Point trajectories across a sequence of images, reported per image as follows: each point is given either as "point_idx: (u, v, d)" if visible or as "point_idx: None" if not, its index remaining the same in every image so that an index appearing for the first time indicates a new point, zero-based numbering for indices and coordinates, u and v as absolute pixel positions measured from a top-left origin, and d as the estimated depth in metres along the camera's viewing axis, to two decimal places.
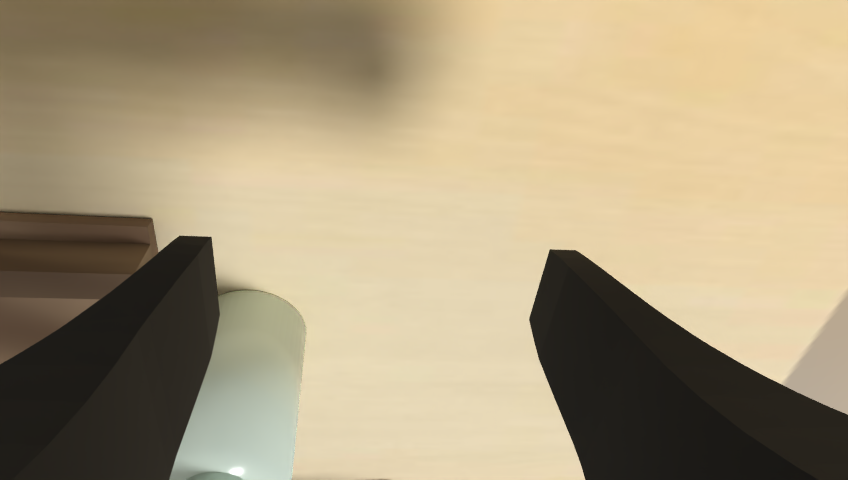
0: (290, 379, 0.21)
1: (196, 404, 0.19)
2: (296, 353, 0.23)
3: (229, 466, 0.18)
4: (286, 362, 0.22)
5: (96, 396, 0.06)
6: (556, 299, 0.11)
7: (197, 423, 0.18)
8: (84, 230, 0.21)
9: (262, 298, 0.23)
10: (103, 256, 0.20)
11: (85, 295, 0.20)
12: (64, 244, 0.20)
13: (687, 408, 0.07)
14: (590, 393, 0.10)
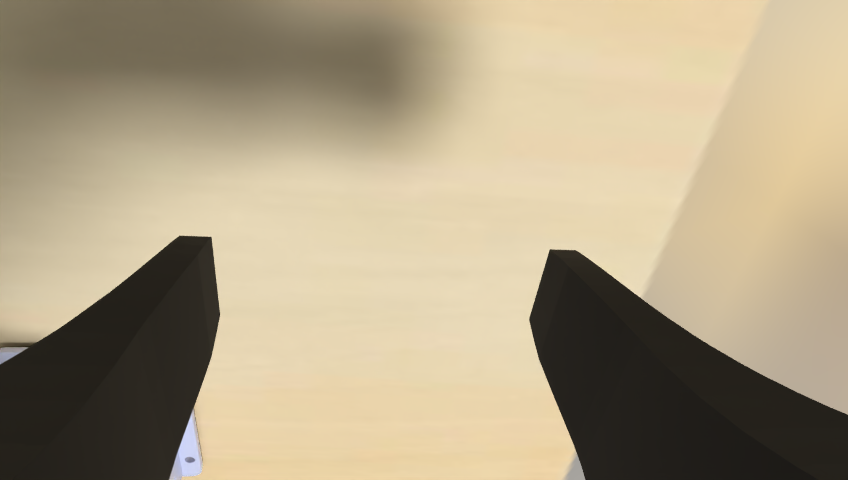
0: None
1: None
2: None
3: None
4: None
5: (96, 396, 0.06)
6: (556, 299, 0.11)
7: None
8: None
9: None
10: None
11: None
12: None
13: (686, 408, 0.07)
14: (590, 393, 0.10)
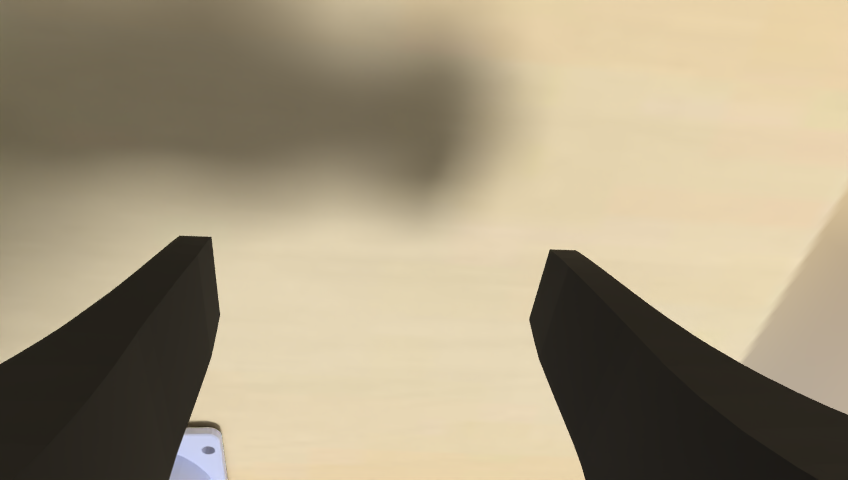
0: None
1: None
2: None
3: None
4: None
5: (96, 396, 0.06)
6: (556, 299, 0.11)
7: None
8: None
9: None
10: None
11: None
12: None
13: (686, 408, 0.07)
14: (590, 393, 0.10)
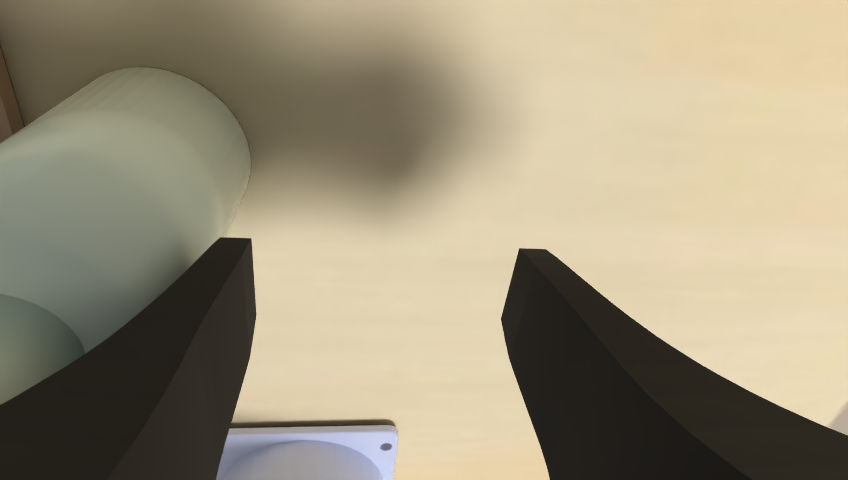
0: (195, 179, 0.12)
1: None
2: (218, 158, 0.13)
3: (14, 280, 0.08)
4: (191, 156, 0.12)
5: (166, 396, 0.06)
6: (524, 298, 0.11)
7: None
8: None
9: (167, 76, 0.14)
10: None
11: None
12: None
13: (639, 409, 0.07)
14: (555, 393, 0.10)
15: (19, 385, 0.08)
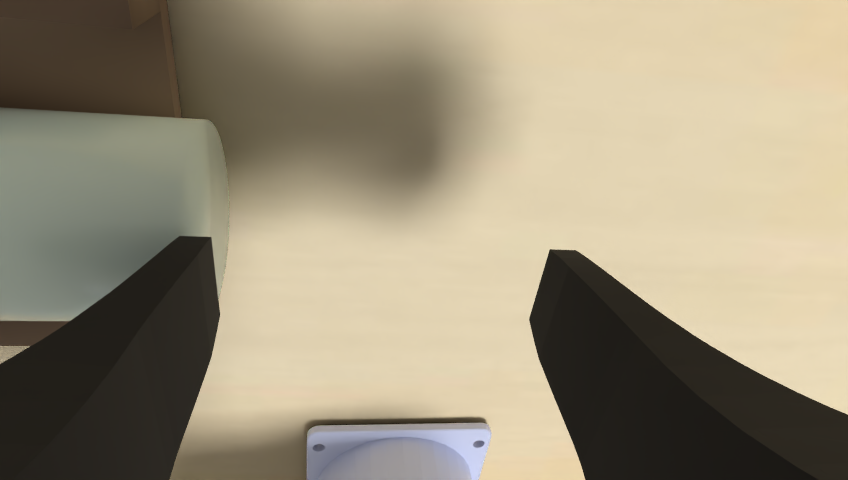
0: None
1: None
2: (50, 246, 0.11)
3: None
4: None
5: (96, 396, 0.06)
6: (556, 299, 0.11)
7: None
8: None
9: (162, 152, 0.11)
10: None
11: (35, 12, 0.11)
12: None
13: (686, 408, 0.07)
14: (590, 393, 0.10)
15: None
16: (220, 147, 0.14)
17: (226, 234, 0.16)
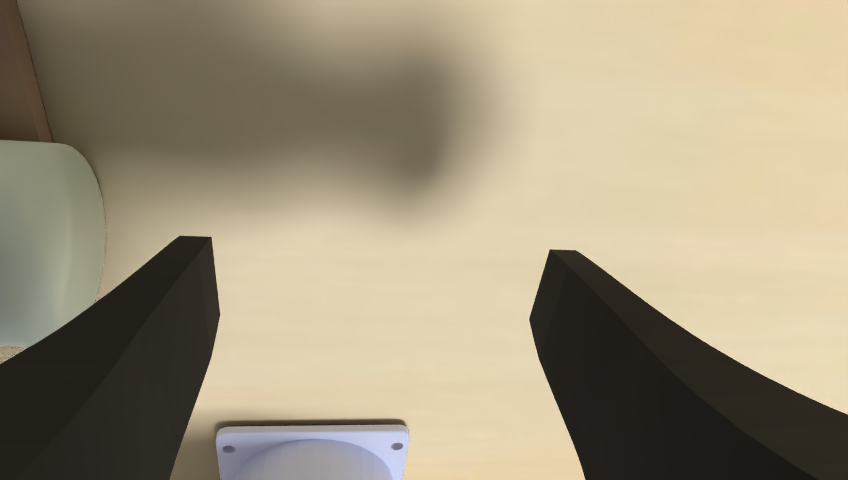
0: None
1: None
2: None
3: None
4: None
5: (96, 396, 0.06)
6: (556, 299, 0.11)
7: None
8: None
9: None
10: None
11: None
12: None
13: (687, 408, 0.07)
14: (590, 393, 0.10)
15: None
16: (71, 155, 0.14)
17: (101, 227, 0.15)
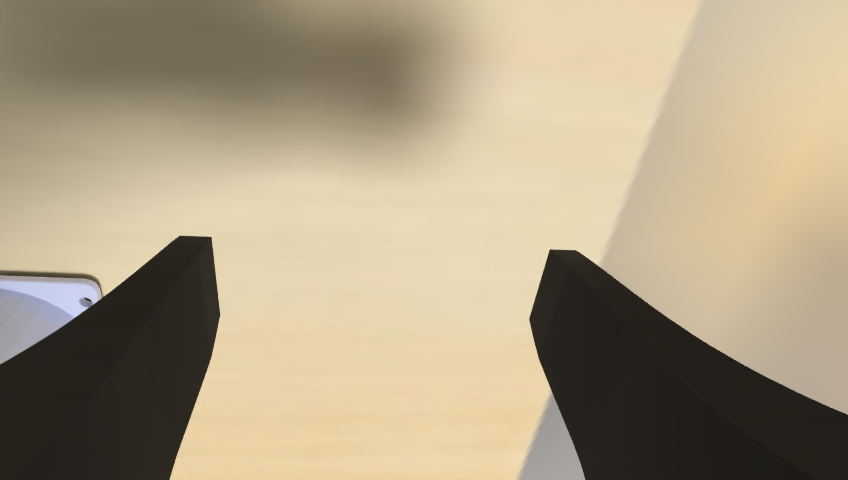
0: None
1: None
2: None
3: None
4: None
5: (96, 396, 0.06)
6: (556, 299, 0.11)
7: None
8: None
9: None
10: None
11: None
12: None
13: (686, 408, 0.07)
14: (590, 393, 0.10)
15: None
16: None
17: None
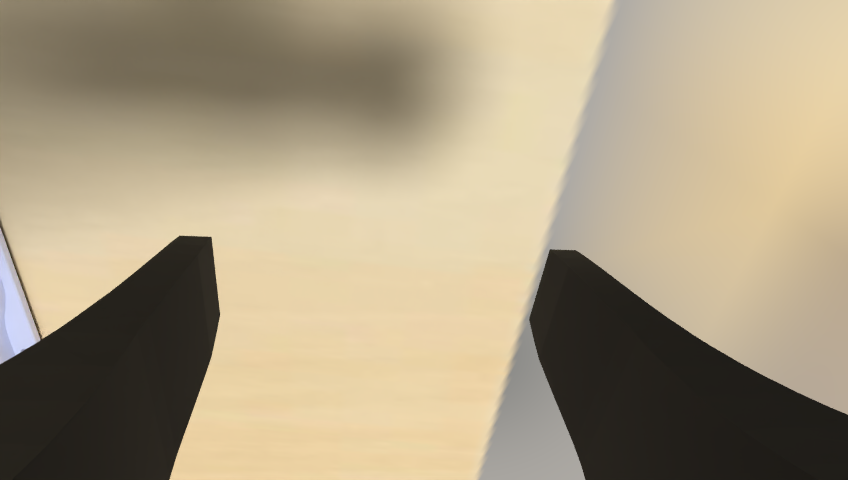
0: None
1: None
2: None
3: None
4: None
5: (96, 396, 0.06)
6: (556, 299, 0.11)
7: None
8: None
9: None
10: None
11: None
12: None
13: (686, 408, 0.07)
14: (590, 393, 0.10)
15: None
16: None
17: None
